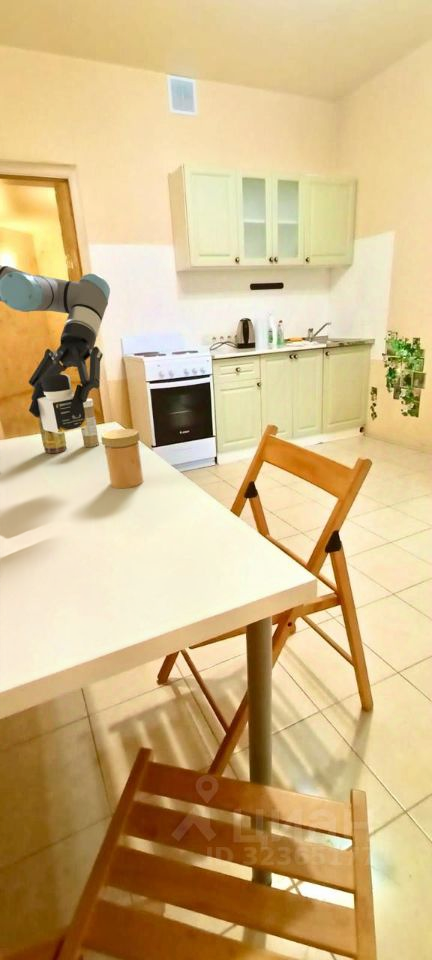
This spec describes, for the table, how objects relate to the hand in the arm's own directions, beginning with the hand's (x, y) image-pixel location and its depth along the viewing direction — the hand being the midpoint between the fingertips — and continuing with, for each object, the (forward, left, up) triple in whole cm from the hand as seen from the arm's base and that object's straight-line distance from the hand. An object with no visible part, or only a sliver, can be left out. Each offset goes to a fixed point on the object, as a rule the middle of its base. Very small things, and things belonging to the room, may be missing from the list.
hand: (53, 413), depth 97 cm
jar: (+13, +5, -16) cm, 22 cm away
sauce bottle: (-24, +18, -16) cm, 34 cm away
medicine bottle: (-1, +3, -4) cm, 5 cm away
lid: (+13, +5, -5) cm, 15 cm away
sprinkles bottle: (-18, +26, -16) cm, 35 cm away
